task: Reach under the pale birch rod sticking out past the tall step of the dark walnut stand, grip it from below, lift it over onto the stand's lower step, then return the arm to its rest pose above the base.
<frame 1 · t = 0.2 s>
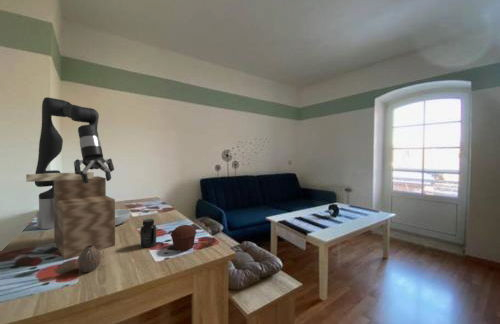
hand: (97, 181, 90), 31 cm above the table, tool tilted 20°, fingers open, 8 cm apart
muffin: (183, 247, 95), on the table
birch rod: (62, 179, 96), point 31 cm above the table, touching walnut stand
supplement bottle: (148, 245, 97), on the table
walnut stand: (80, 239, 102), on the table
serving bowl: (111, 224, 125), on the table
brown egg-shaped lump: (89, 269, 76), on the table
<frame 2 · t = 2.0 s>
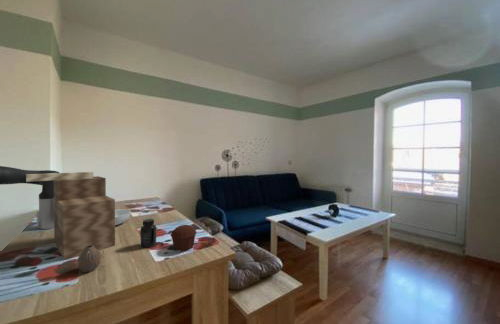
nothing on the table moved.
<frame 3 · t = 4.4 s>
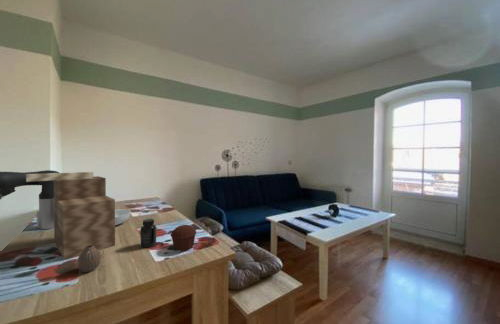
hand: (13, 187, 84), 29 cm above the table, tool pointing upward, fingers open, 8 cm apart
nothing on the table moved.
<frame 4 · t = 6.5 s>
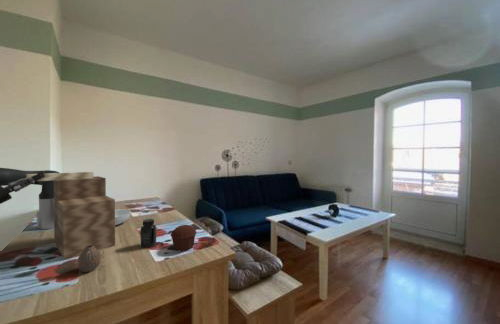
hand: (42, 174, 91), 34 cm above the table, tool pointing upward
birch rod: (62, 179, 96), point 31 cm above the table, touching gripper
everything else where it was.
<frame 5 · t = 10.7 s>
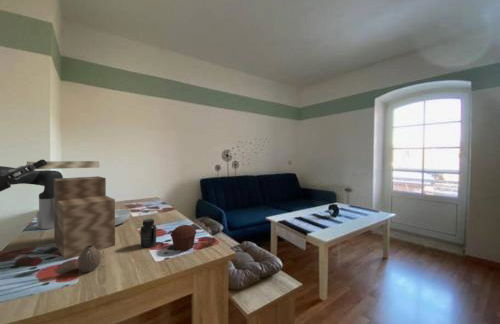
hand: (45, 161, 83), 40 cm above the table, tool pointing upward, fingers closed on birch rod, 3 cm apart
birch rod: (66, 168, 88), point 37 cm above the table, touching gripper
everything else where it was.
when the fingers open (26 cm above the table, at t = 14.8 s): birch rod drops 1 cm, resting on walnut stand.
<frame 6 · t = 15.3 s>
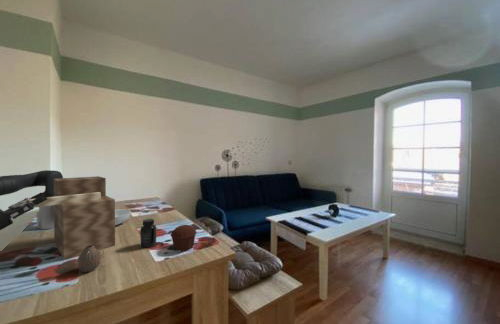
hand: (44, 195, 82), 26 cm above the table, tool pointing upward, fingers open, 7 cm apart
birch rod: (67, 202, 88), point 22 cm above the table, touching walnut stand
everything else where it was.
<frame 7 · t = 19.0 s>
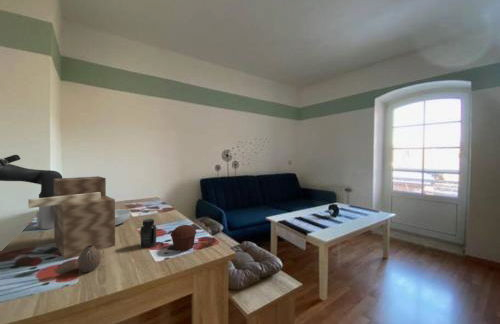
hand: (18, 156, 86), 42 cm above the table, tool pointing upward, fingers open, 8 cm apart
nothing on the table moved.
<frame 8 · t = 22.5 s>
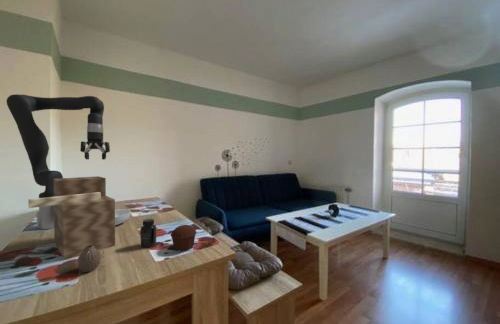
hand: (95, 159, 119), 40 cm above the table, tool pointing down, fingers open, 8 cm apart
nothing on the table moved.
at the end: birch rod inside the target area on the walnut stand (0.1 cm from its centre), point 22.0 cm above the walnut stand's base; birch rod tilted 0°; the gripper is holding nothing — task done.
